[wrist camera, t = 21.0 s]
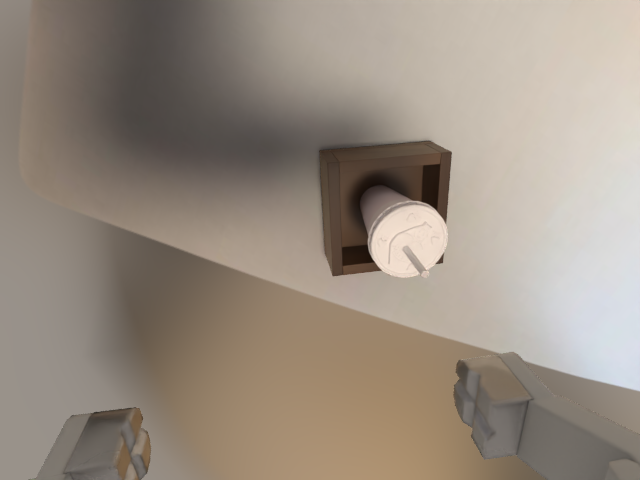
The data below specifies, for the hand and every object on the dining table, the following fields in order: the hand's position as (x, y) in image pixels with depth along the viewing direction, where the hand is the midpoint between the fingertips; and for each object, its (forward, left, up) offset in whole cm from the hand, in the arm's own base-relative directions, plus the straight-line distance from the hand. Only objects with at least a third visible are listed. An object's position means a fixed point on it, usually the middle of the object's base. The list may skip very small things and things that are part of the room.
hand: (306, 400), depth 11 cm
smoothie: (+10, -6, -30) cm, 32 cm away
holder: (+10, -6, -31) cm, 33 cm away
